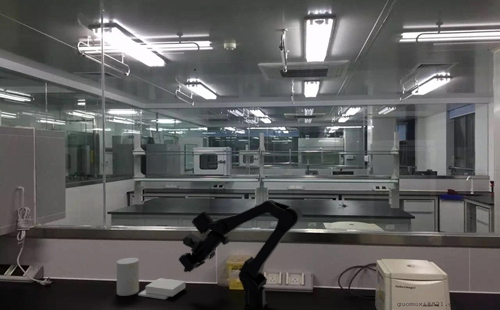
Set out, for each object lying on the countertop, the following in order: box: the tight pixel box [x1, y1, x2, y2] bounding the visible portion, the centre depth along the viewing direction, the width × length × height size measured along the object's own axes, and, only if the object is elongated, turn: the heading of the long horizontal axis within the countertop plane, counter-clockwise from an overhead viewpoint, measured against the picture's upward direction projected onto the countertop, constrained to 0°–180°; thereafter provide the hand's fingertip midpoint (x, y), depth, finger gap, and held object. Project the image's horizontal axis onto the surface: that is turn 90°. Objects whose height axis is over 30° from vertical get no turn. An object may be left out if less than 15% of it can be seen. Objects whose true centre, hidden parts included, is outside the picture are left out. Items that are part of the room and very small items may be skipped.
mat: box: [137, 289, 170, 300], centre depth 124 cm, size 12×10×1 cm
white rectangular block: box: [145, 277, 186, 297], centre depth 124 cm, size 3×9×12 cm
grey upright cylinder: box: [116, 257, 140, 297], centre depth 126 cm, size 8×8×12 cm
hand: (184, 271), depth 121 cm, fingers closed
